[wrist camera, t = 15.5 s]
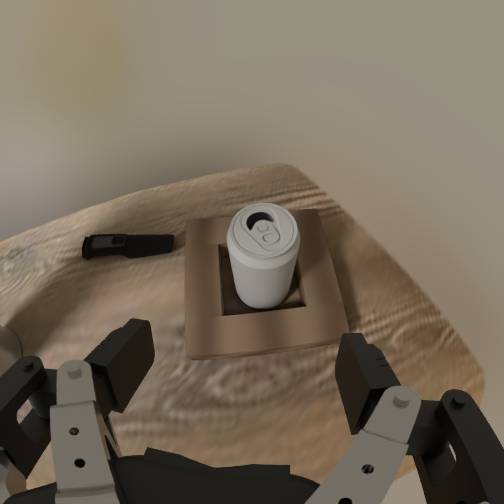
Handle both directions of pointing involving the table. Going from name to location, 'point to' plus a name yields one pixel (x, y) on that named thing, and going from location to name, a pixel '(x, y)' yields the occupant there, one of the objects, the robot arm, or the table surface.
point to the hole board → (263, 323)
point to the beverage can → (263, 253)
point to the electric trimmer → (127, 245)
